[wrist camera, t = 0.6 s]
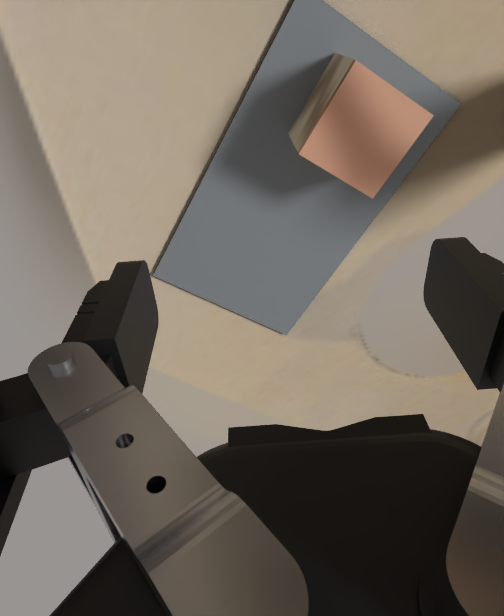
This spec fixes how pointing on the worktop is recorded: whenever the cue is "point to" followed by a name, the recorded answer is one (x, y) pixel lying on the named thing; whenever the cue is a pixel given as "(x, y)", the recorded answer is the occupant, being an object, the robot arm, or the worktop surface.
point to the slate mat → (287, 180)
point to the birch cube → (357, 125)
